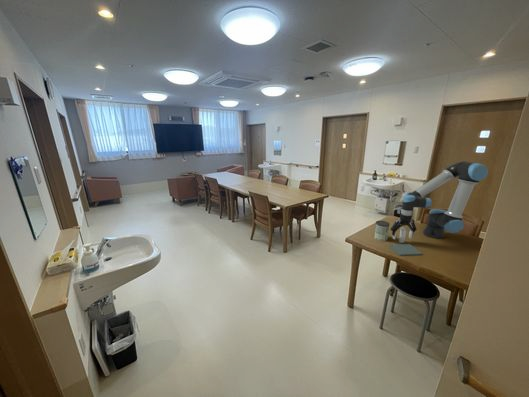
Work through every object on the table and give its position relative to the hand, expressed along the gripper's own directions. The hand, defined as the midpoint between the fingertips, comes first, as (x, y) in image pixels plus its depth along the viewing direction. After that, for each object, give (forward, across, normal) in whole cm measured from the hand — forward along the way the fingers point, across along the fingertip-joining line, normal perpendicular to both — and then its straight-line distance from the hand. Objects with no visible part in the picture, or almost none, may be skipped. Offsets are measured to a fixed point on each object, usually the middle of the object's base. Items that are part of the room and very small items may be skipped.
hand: (401, 238), depth 174 cm
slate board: (+3, +6, +13) cm, 15 cm away
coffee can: (+4, +13, -8) cm, 15 cm away
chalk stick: (+3, 0, 0) cm, 3 cm away
